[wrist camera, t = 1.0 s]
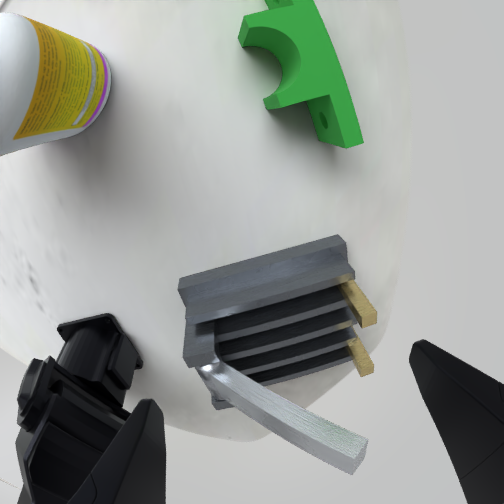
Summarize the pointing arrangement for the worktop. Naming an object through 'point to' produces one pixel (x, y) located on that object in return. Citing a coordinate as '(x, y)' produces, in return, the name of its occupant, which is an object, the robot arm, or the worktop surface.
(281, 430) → the silver metal bar
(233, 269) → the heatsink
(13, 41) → the supplement bottle
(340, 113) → the pipe clamp
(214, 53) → the worktop surface
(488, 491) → the robot arm
